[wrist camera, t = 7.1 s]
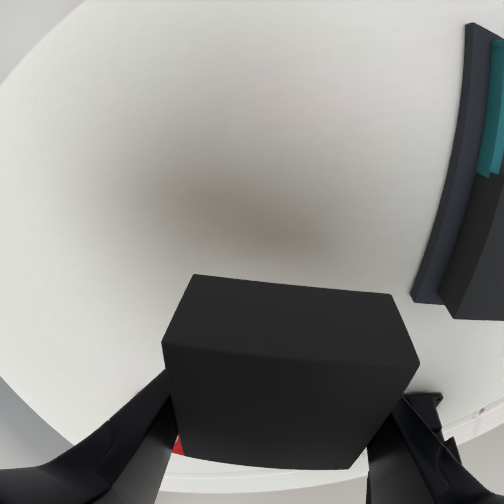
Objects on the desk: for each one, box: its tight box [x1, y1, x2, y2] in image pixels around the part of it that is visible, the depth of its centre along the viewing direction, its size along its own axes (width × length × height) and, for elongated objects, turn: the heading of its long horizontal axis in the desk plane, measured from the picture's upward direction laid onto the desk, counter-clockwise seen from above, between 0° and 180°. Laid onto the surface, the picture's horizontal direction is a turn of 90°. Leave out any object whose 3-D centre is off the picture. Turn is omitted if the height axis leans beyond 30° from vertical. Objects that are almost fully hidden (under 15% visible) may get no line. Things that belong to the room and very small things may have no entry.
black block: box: [161, 274, 420, 470], centre depth 9 cm, size 6×6×3 cm
